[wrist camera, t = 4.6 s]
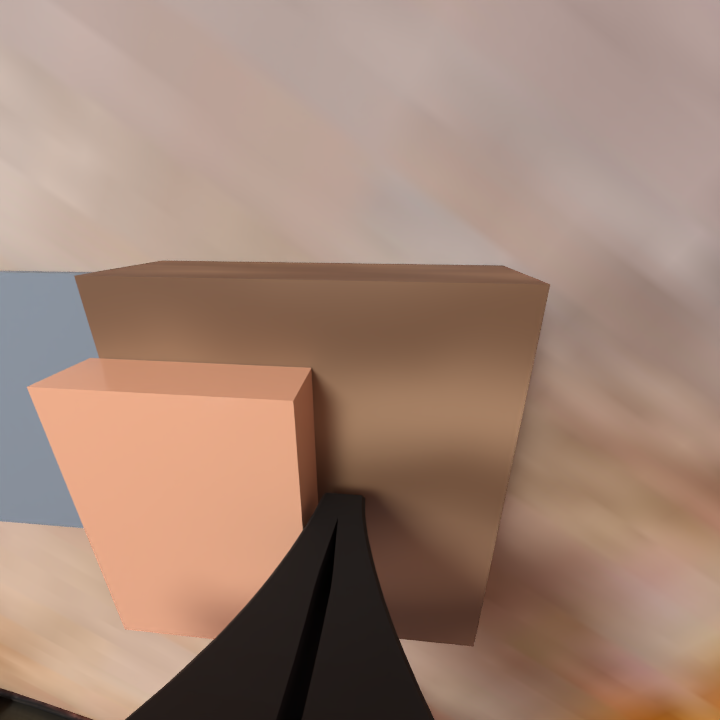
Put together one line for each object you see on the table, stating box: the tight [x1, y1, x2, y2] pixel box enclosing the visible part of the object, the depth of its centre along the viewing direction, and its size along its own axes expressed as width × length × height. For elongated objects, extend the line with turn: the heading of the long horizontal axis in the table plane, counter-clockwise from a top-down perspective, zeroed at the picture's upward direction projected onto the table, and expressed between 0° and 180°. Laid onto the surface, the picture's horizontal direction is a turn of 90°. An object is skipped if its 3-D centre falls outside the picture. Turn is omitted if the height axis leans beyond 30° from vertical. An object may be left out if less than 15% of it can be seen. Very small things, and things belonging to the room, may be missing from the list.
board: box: [74, 261, 550, 646], centre depth 14 cm, size 15×13×4 cm
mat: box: [0, 271, 99, 528], centre depth 17 cm, size 14×13×1 cm
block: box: [27, 358, 318, 639], centre depth 11 cm, size 10×7×2 cm
